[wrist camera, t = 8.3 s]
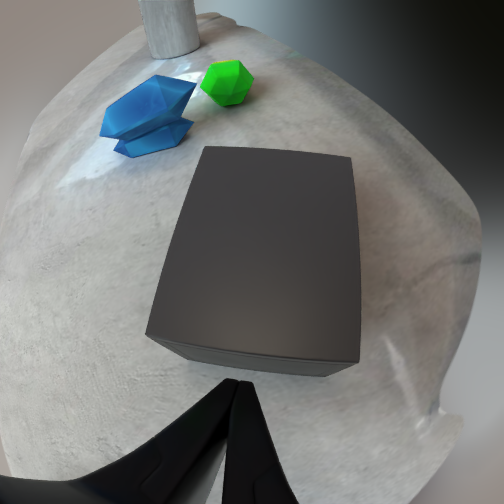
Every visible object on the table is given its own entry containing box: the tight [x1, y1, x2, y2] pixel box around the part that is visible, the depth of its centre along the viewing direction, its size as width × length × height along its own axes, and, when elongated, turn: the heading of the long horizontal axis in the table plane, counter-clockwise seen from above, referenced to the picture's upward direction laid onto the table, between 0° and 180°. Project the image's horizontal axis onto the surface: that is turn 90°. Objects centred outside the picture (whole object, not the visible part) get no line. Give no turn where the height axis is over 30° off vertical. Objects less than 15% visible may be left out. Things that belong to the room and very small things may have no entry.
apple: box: [200, 60, 254, 106], centre depth 31 cm, size 7×6×9 cm
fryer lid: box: [145, 146, 361, 365], centre depth 15 cm, size 12×9×1 cm
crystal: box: [99, 75, 197, 158], centre depth 26 cm, size 7×9×12 cm
